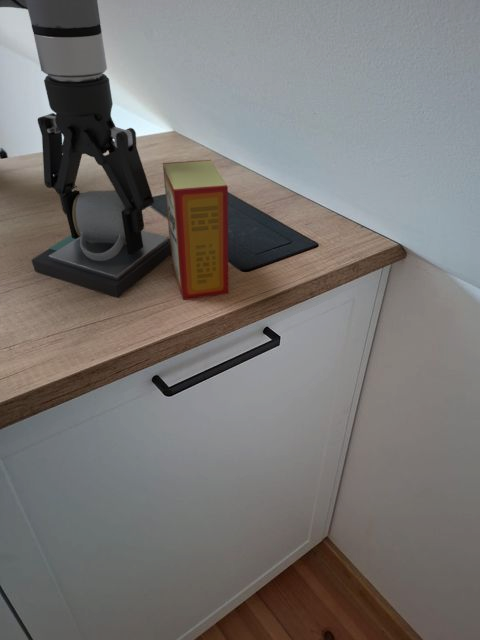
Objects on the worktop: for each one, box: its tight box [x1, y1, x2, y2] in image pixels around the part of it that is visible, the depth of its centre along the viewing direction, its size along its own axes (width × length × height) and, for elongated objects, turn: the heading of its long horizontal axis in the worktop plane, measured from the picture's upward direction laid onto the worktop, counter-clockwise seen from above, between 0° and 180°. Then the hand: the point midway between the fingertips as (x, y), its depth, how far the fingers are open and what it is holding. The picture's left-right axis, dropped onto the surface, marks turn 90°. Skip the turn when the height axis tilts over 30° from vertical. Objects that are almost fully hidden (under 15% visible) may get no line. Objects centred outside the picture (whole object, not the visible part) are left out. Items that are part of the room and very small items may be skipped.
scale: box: [31, 234, 171, 298], centre depth 75 cm, size 15×15×2 cm
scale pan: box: [49, 230, 169, 281], centre depth 74 cm, size 12×13×1 cm
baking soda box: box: [162, 159, 229, 300], centre depth 67 cm, size 10×6×16 cm
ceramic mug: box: [72, 189, 133, 261], centre depth 71 cm, size 11×8×8 cm
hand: (107, 242), depth 73 cm, fingers closed on ceramic mug, 9 cm apart
